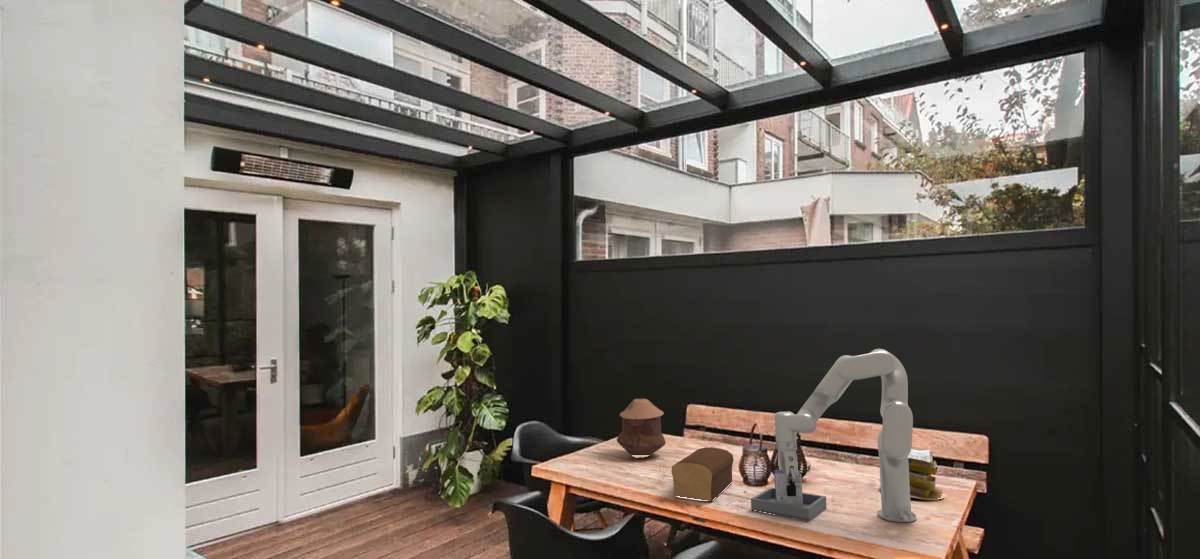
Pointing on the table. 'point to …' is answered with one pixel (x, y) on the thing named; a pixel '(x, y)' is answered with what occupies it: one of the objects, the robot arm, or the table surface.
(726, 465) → the bread
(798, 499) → the ink cartridge box
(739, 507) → the table surface
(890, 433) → the robot arm
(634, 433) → the pottery vessel
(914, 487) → the stacked food on plate
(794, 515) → the tray
